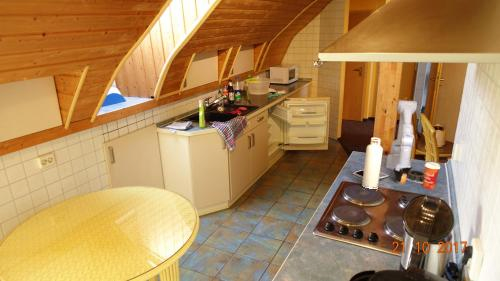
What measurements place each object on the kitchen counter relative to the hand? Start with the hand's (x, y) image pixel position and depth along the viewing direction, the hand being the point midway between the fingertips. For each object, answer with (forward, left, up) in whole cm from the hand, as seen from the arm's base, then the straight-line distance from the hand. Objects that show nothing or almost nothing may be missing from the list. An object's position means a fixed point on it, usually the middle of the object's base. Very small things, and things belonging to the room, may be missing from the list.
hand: (401, 179), depth 198 cm
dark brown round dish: (+3, +13, -2) cm, 14 cm away
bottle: (-8, -20, -2) cm, 22 cm away
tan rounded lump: (0, 0, -2) cm, 2 cm away
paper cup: (+13, +5, -2) cm, 14 cm away
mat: (+2, +13, -2) cm, 13 cm away
